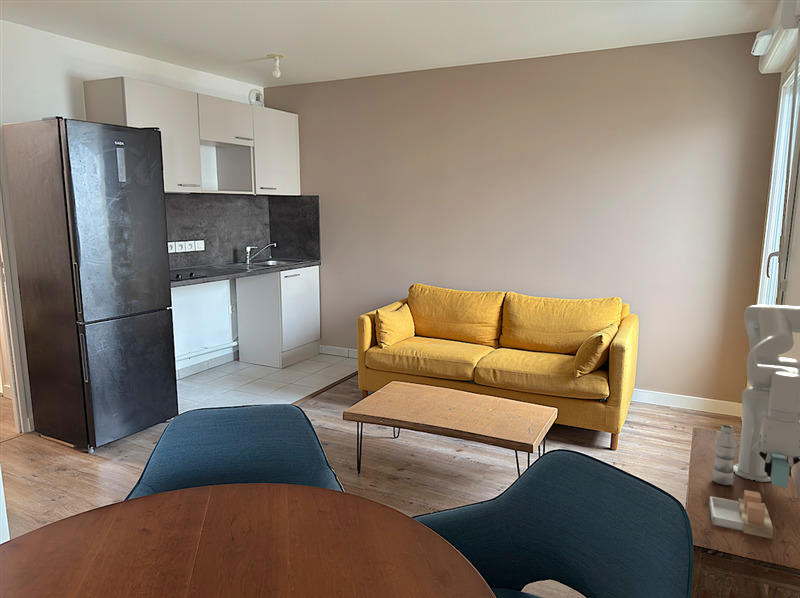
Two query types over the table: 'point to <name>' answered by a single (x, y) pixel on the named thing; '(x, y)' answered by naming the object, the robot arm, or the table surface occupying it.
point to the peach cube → (755, 512)
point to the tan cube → (751, 497)
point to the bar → (779, 471)
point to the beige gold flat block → (755, 523)
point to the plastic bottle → (724, 456)
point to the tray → (725, 513)
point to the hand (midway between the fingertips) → (776, 475)
